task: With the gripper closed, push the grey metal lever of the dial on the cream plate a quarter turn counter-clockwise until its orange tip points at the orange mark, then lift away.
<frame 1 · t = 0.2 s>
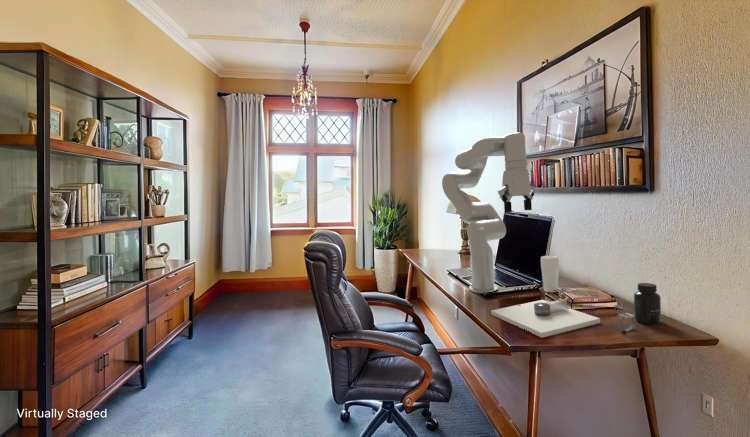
hand: (518, 211, 137), 36 cm above the table, tool pointing down, fingers open, 9 cm apart
dial plate: (542, 318, 124), on the table
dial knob: (550, 306, 125), point 3 cm above the table, hinge at 0.0°
caliper: (589, 306, 133), on the table
drinking glass: (550, 292, 153), on the table
supplement bottle: (647, 321, 115), on the table
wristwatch: (626, 331, 109), on the table
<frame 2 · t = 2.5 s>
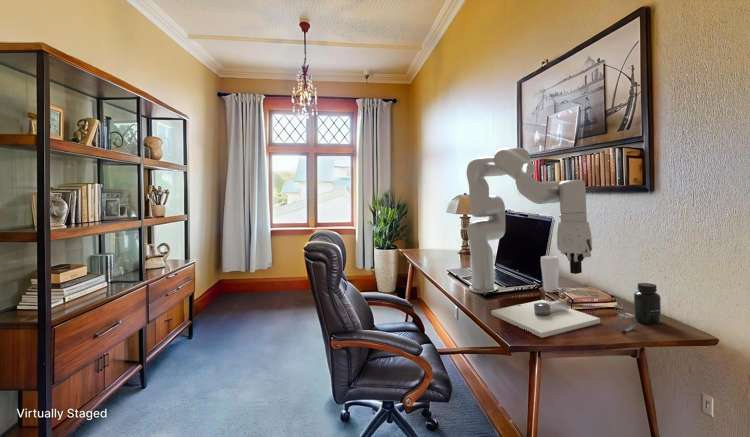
hand: (576, 272, 119), 16 cm above the table, tool pointing down, fingers closed
nothing on the table moved.
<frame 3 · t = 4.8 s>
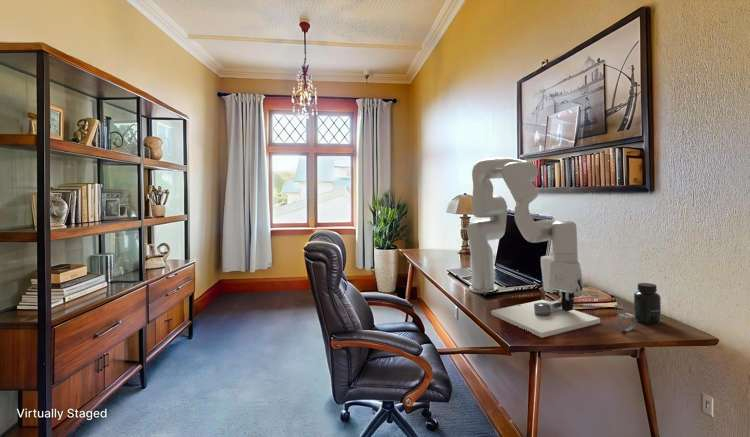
hand: (567, 310, 123), 2 cm above the table, tool pointing down, fingers closed
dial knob: (550, 306, 125), point 3 cm above the table, hinge at 0.8°, touching gripper
everything else where it was.
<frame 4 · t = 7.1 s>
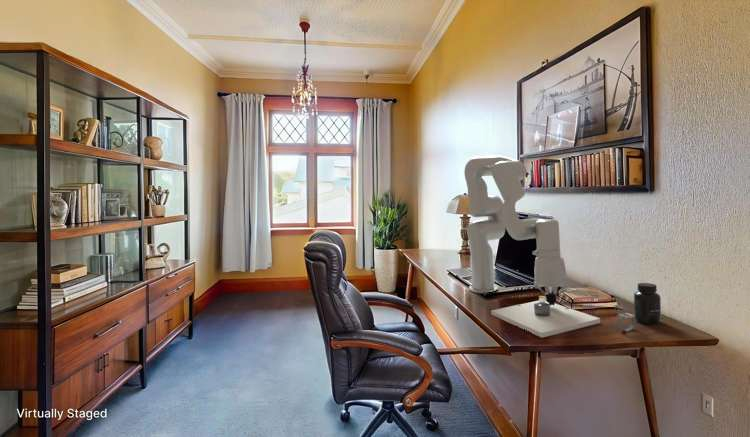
hand: (551, 304, 129), 3 cm above the table, tool pointing down, fingers closed
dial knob: (542, 305, 127), point 3 cm above the table, hinge at 45.5°, touching gripper
everything else where it was.
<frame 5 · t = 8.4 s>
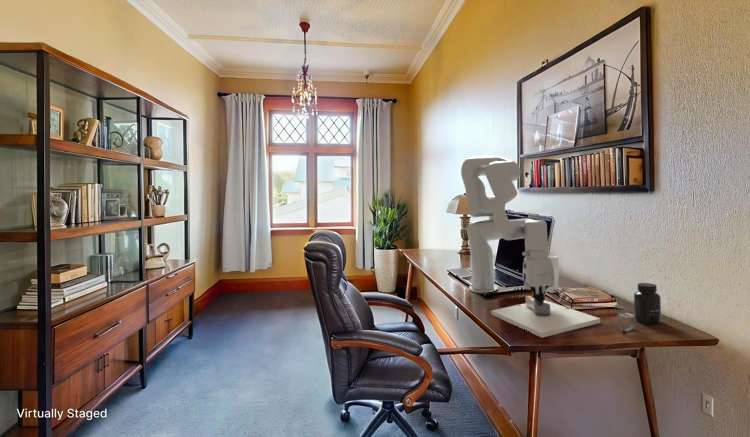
hand: (539, 303, 131), 3 cm above the table, tool pointing down, fingers closed
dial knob: (536, 305, 127), point 3 cm above the table, hinge at 74.0°, touching gripper
everything else where it was.
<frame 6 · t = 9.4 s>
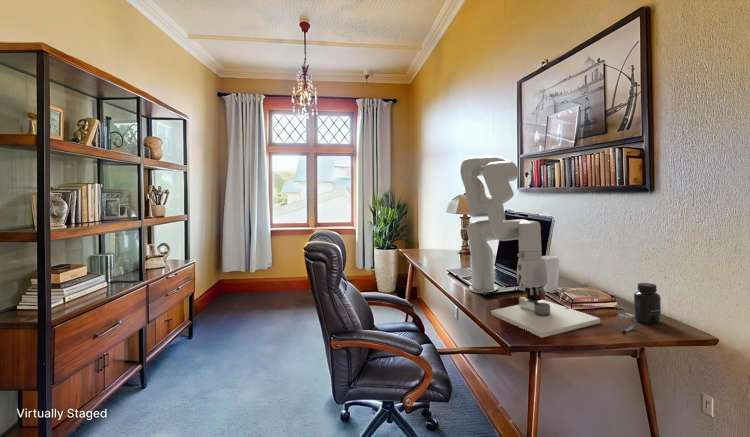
hand: (532, 304, 132), 2 cm above the table, tool pointing down, fingers closed
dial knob: (533, 305, 127), point 3 cm above the table, hinge at 90.2°
everything else where it was.
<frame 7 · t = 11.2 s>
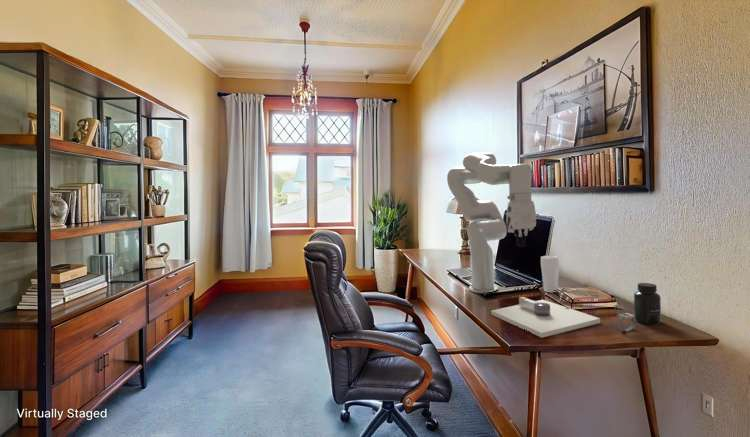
hand: (520, 246, 134), 23 cm above the table, tool pointing down, fingers closed
nothing on the table moved.
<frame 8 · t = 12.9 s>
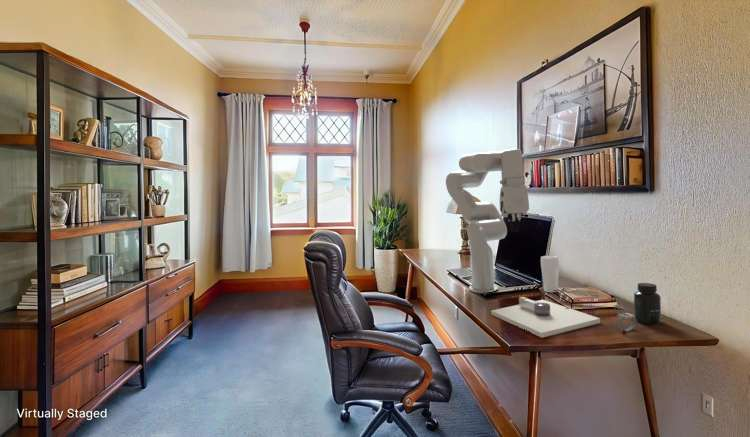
hand: (514, 231, 136), 29 cm above the table, tool pointing down, fingers closed
nothing on the table moved.
at the end: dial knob at +90° (first picture: +0°); the gripper is holding nothing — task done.
